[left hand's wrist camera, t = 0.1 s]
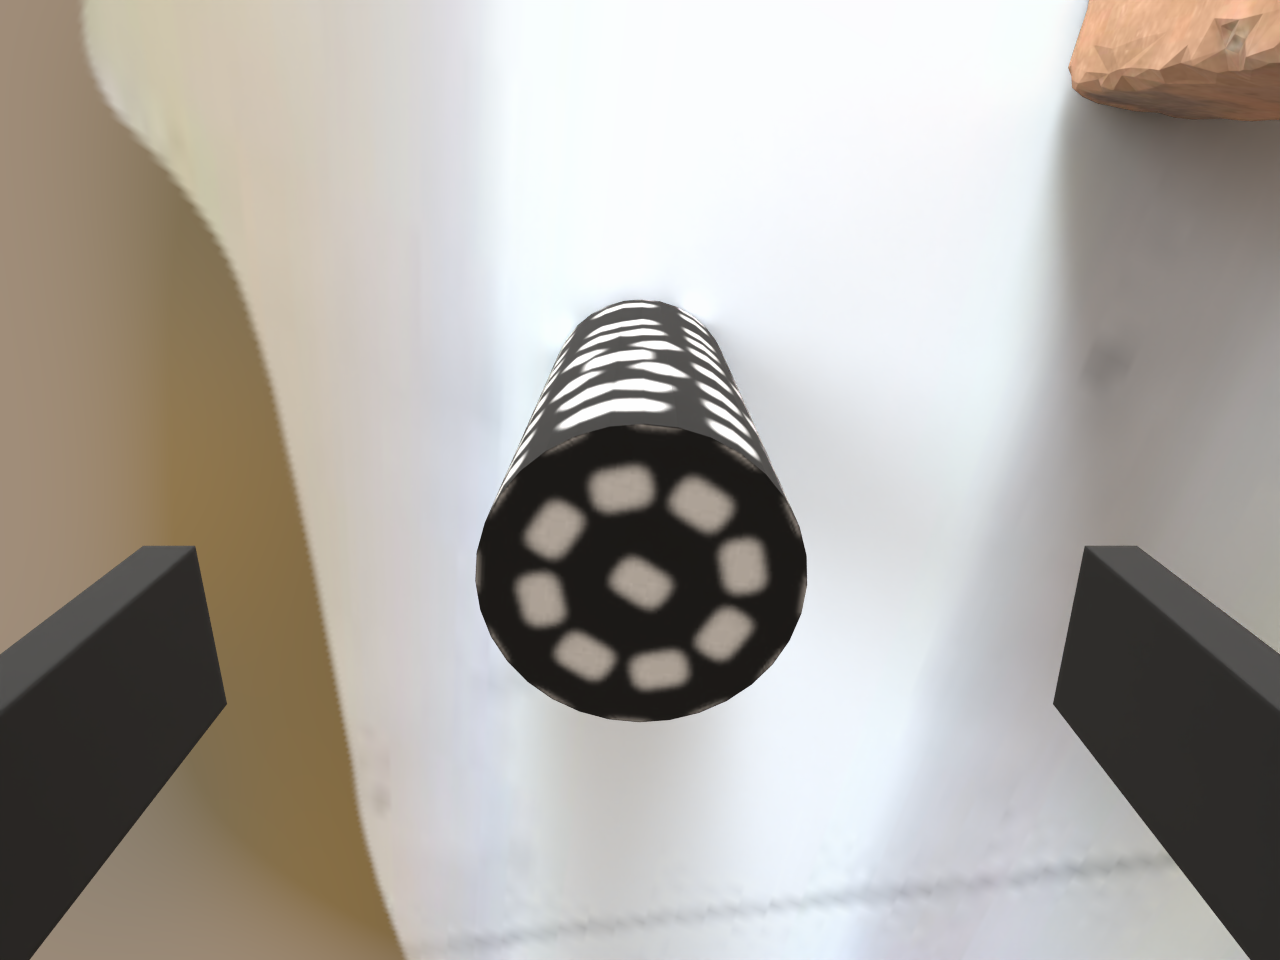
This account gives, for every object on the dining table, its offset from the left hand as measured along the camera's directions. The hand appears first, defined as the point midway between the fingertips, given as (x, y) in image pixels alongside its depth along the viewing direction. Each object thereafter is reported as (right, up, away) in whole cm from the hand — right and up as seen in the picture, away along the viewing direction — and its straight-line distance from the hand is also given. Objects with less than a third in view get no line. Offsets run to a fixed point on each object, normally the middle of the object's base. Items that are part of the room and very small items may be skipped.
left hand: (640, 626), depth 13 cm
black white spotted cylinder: (0, +3, +18) cm, 18 cm away
